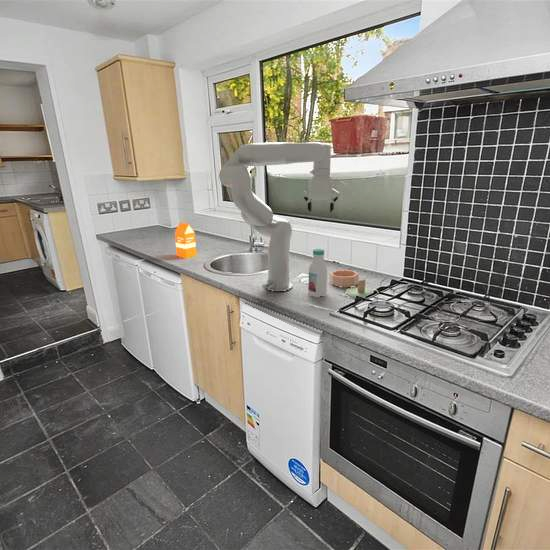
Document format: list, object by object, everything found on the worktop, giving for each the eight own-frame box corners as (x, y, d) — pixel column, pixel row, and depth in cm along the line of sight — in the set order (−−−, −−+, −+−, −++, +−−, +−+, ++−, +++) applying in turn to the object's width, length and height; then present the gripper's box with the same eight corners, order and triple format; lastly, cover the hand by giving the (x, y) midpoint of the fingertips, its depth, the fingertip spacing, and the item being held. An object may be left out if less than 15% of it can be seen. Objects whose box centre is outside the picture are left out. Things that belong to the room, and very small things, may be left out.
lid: (369, 302, 145) (370, 287, 143) (340, 295, 153) (340, 281, 151) (381, 292, 155) (382, 278, 153) (353, 286, 163) (354, 273, 161)
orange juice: (186, 258, 211) (183, 225, 205) (176, 256, 216) (173, 223, 210) (196, 256, 217) (194, 223, 211) (187, 253, 222) (184, 221, 216)
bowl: (350, 289, 159) (350, 278, 157) (326, 285, 166) (326, 274, 164) (361, 282, 168) (361, 272, 166) (338, 278, 175) (338, 268, 174)
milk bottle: (324, 291, 158) (326, 247, 152) (327, 298, 151) (329, 252, 145) (307, 292, 158) (308, 247, 152) (309, 298, 151) (310, 252, 144)
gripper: (300, 173, 159) (300, 212, 164) (340, 173, 155) (338, 213, 160) (303, 172, 166) (303, 209, 171) (341, 172, 161) (340, 210, 167)
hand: (320, 211), depth 166 cm, fingers open, 9 cm apart
